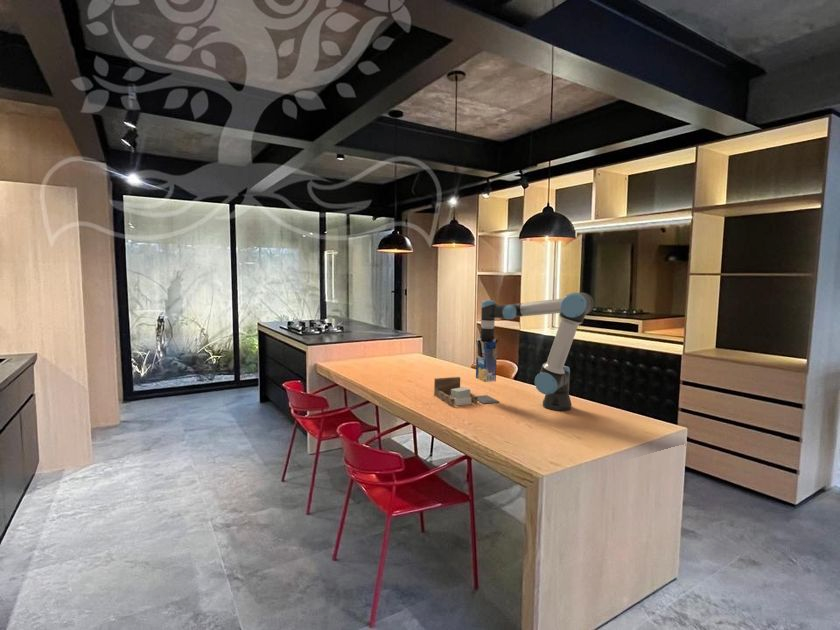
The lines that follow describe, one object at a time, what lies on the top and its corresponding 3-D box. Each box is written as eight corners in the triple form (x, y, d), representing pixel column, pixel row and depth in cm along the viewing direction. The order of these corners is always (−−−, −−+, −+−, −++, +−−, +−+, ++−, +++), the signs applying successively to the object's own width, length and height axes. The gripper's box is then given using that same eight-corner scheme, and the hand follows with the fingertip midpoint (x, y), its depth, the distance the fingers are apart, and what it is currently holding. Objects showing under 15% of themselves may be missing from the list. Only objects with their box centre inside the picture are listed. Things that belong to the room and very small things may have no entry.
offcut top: (470, 396, 253) (470, 389, 253) (457, 398, 248) (457, 391, 247) (463, 394, 258) (463, 387, 258) (450, 396, 253) (450, 389, 252)
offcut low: (471, 404, 252) (471, 397, 251) (455, 406, 248) (455, 398, 248) (465, 401, 258) (465, 394, 258) (449, 402, 254) (449, 395, 254)
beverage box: (486, 377, 265) (487, 339, 263) (495, 381, 255) (497, 342, 253) (475, 377, 263) (476, 340, 261) (485, 382, 253) (486, 342, 250)
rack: (477, 403, 252) (477, 386, 251) (451, 406, 246) (451, 388, 245) (458, 393, 274) (459, 376, 273) (434, 395, 268) (434, 378, 267)
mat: (499, 402, 255) (499, 401, 255) (483, 404, 252) (483, 402, 251) (486, 396, 268) (486, 395, 268) (471, 397, 264) (471, 396, 264)
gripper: (495, 326, 262) (494, 366, 264) (472, 327, 257) (471, 368, 259) (502, 328, 255) (500, 369, 257) (479, 328, 250) (477, 371, 252)
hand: (486, 368), depth 258 cm, fingers closed on beverage box, 2 cm apart
